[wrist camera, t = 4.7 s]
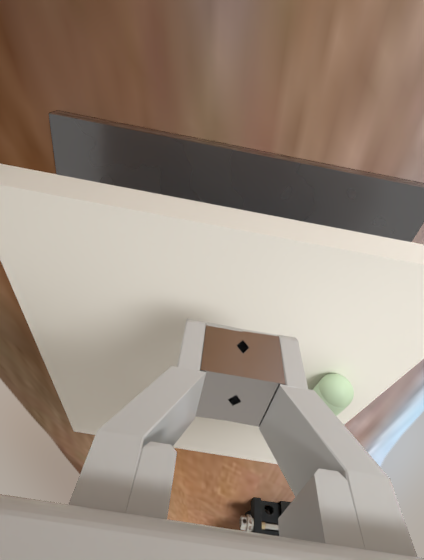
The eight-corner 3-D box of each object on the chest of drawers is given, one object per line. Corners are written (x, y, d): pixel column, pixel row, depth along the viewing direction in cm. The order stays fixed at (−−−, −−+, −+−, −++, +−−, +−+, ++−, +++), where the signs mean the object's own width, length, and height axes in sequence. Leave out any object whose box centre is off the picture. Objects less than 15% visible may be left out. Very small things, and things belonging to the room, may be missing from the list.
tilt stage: (-12, 161, 11) (-73, 205, 9) (496, 258, 11) (546, 320, 9) (79, 416, 26) (65, 453, 24) (292, 451, 27) (295, 489, 25)
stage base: (56, 110, 15) (4, 129, 12) (435, 185, 16) (486, 223, 13) (88, 387, 29) (68, 432, 26) (291, 421, 30) (297, 469, 26)
